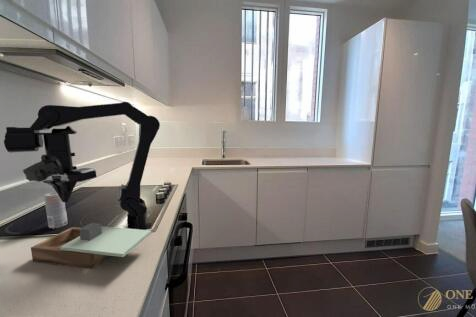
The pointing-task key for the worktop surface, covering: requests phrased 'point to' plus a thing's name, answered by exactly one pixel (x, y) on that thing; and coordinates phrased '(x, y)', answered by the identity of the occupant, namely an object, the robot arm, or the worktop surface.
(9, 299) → the worktop surface
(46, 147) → the robot arm
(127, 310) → the worktop surface
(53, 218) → the energy drink
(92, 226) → the lid
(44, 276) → the worktop surface
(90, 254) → the tea box
